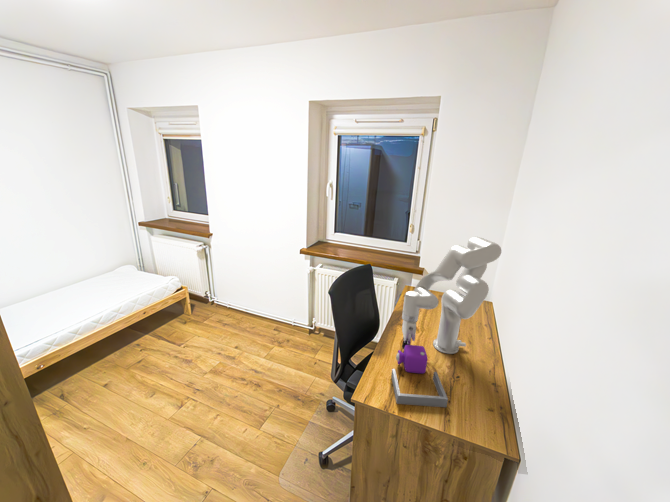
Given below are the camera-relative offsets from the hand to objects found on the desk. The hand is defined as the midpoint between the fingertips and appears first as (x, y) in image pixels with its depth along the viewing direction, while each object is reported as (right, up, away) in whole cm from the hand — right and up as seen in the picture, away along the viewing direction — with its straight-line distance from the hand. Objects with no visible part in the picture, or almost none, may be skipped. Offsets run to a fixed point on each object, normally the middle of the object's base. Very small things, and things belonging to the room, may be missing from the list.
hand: (405, 348), depth 144 cm
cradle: (-1, -9, -24) cm, 26 cm away
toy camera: (-1, -5, -11) cm, 12 cm away
